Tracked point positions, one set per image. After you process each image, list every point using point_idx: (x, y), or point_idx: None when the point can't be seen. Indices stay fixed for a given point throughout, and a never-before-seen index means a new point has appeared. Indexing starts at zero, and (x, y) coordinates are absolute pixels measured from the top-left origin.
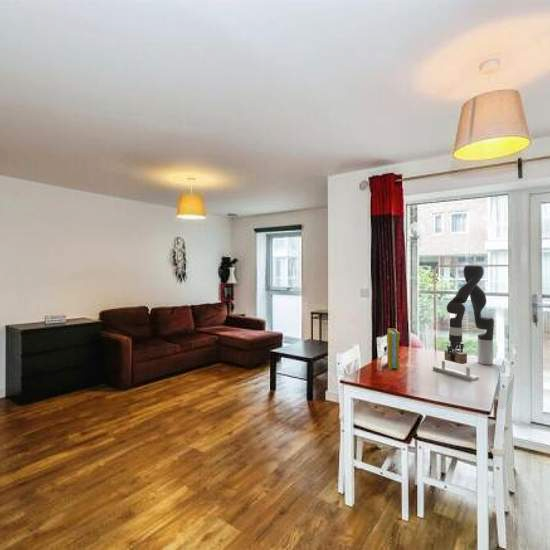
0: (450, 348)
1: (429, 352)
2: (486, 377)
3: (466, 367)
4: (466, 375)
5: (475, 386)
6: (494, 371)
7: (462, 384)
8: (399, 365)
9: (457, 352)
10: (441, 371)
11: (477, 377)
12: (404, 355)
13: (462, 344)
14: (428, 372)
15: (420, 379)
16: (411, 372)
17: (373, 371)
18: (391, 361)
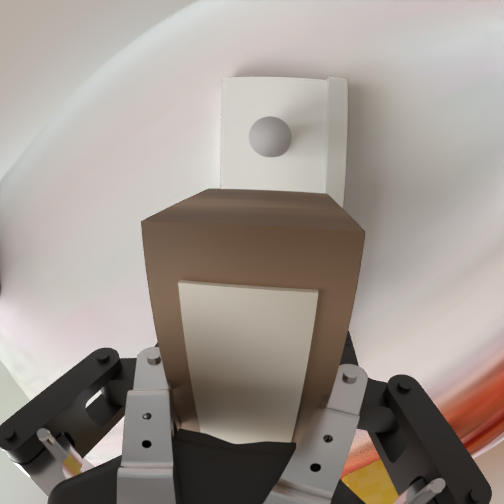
0: (472, 467)
1: (91, 449)
2: (138, 85)
3: (286, 148)
4: (337, 122)
5: (413, 27)
6: (16, 162)
7: (453, 99)
8: None
9: (253, 387)
10: None
11: (240, 78)
12: None
13: (19, 449)
14: (381, 369)
15: None
16: (436, 396)
17: (486, 431)
18: None
